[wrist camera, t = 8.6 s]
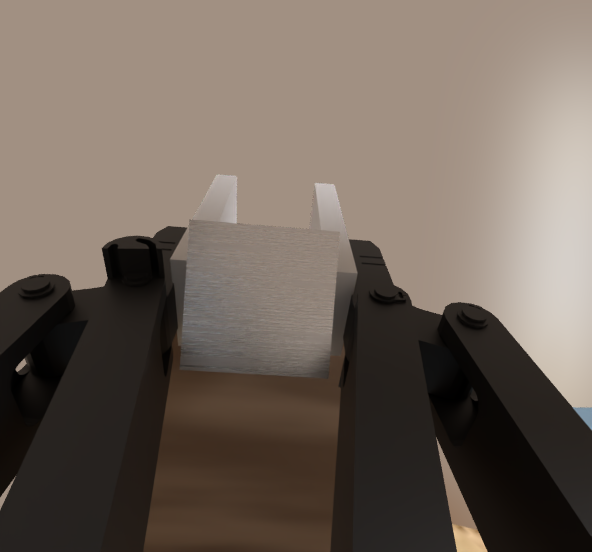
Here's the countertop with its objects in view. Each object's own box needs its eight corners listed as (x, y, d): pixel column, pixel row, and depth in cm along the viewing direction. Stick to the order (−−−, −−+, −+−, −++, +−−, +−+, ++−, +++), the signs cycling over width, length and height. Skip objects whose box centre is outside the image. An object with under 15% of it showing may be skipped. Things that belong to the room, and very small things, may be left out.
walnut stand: (345, 960, 17) (402, 278, 16) (88, 964, 16) (132, 258, 15) (312, 622, 33) (340, 270, 32) (181, 618, 32) (206, 260, 31)
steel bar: (328, 378, 8) (340, 231, 8) (179, 369, 8) (189, 219, 8) (292, 295, 28) (295, 253, 28) (250, 292, 28) (253, 250, 28)
